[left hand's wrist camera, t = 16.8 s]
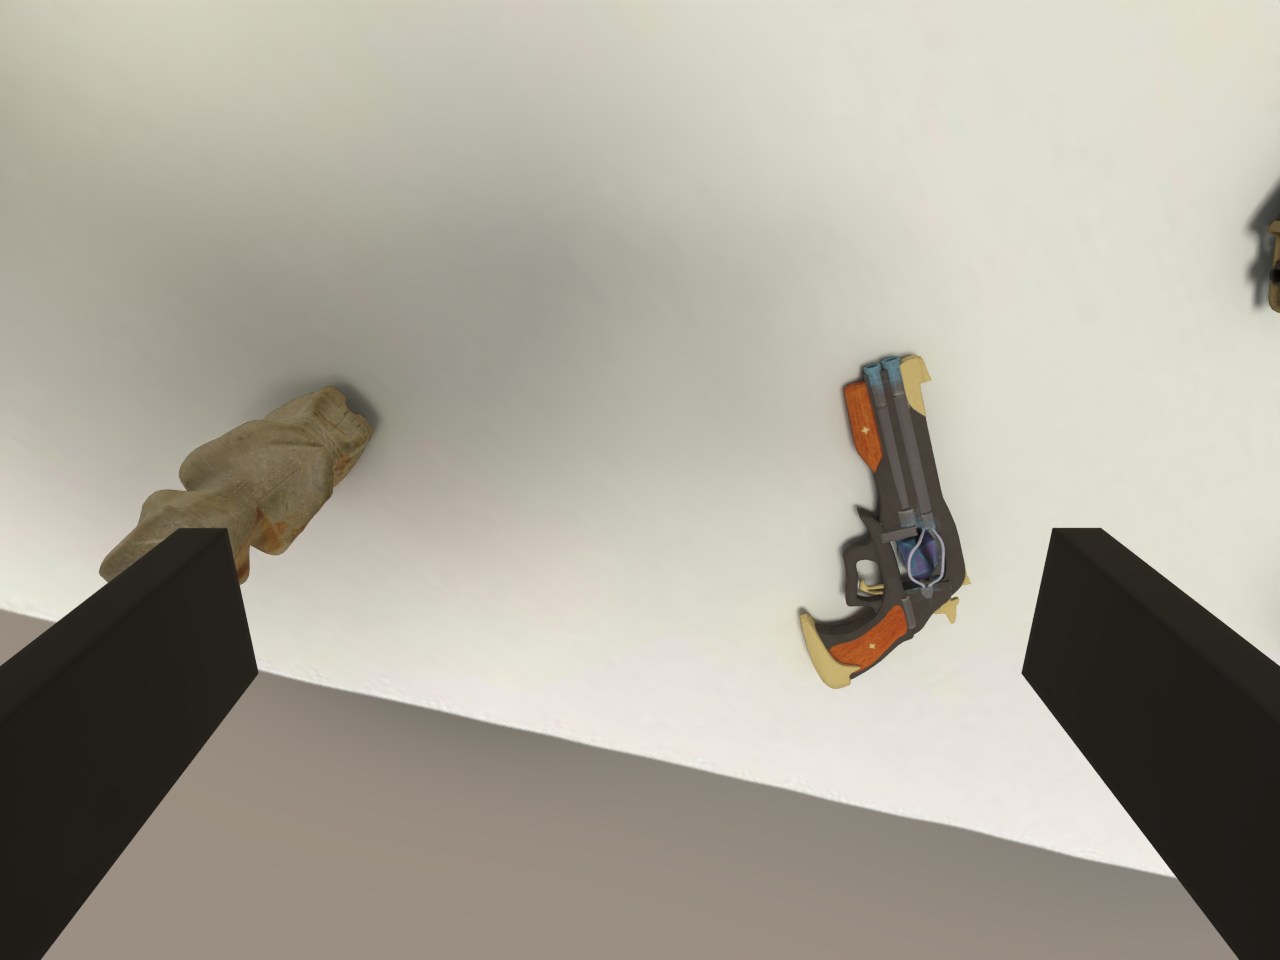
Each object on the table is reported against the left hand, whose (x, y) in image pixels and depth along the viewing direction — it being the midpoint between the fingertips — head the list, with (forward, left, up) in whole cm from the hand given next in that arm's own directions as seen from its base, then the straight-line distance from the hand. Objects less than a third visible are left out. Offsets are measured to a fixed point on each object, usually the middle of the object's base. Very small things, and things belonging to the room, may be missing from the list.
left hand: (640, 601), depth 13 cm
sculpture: (-15, -12, -30) cm, 36 cm away
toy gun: (+16, -9, -30) cm, 35 cm away
